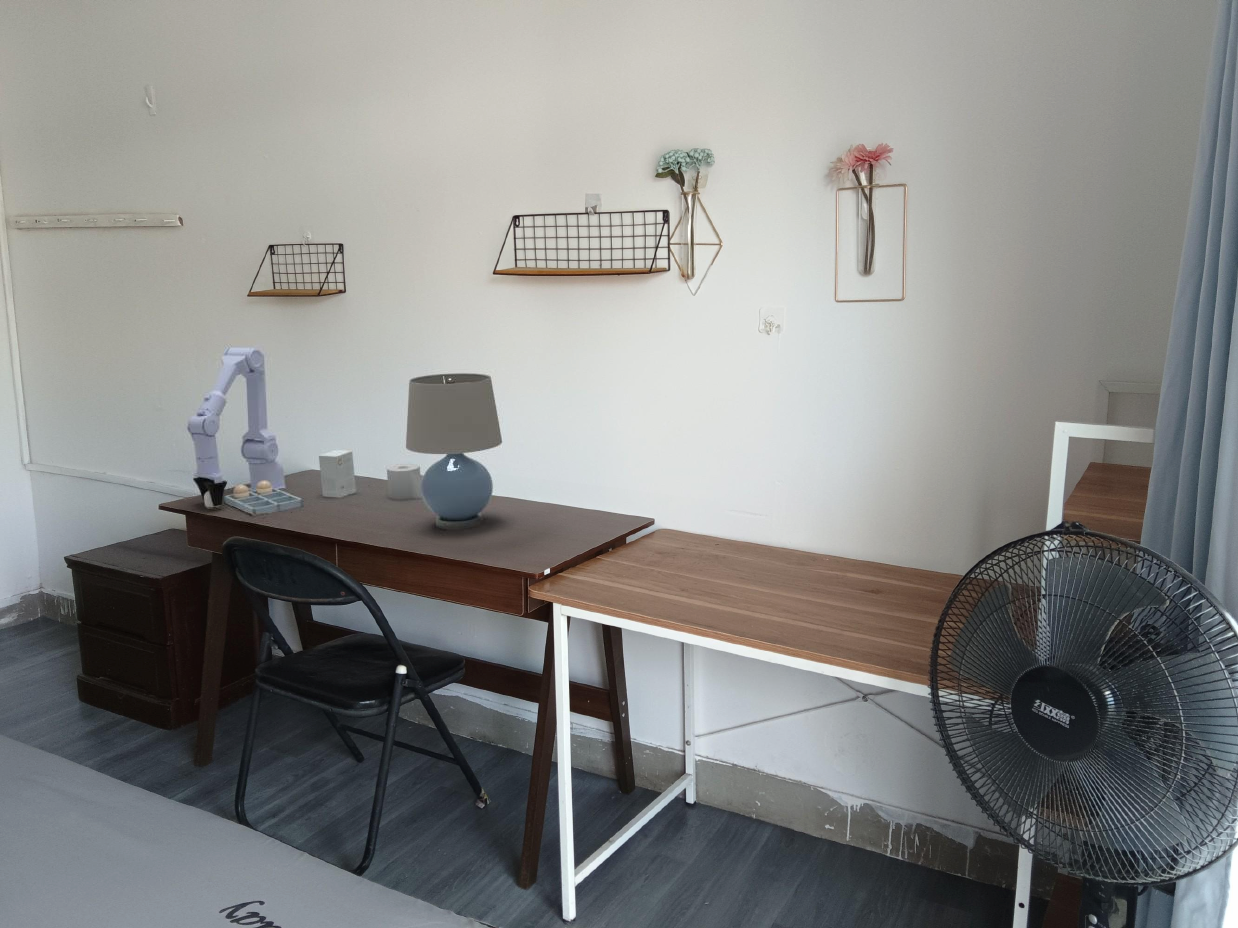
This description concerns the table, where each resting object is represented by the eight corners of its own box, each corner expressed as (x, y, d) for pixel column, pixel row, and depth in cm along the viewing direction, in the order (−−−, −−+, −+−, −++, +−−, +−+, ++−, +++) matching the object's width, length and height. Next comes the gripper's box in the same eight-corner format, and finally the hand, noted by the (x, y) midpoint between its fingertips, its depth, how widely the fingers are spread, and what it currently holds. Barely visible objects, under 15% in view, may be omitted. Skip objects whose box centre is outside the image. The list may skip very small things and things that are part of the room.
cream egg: (218, 505, 271) (216, 487, 270) (223, 508, 268) (221, 490, 267) (203, 508, 268) (201, 490, 267) (208, 510, 265) (206, 492, 264)
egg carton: (272, 494, 282) (271, 486, 281) (303, 507, 266) (302, 499, 266) (224, 504, 272) (223, 496, 271) (253, 518, 257) (252, 509, 256)
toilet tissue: (435, 497, 275) (433, 468, 273) (389, 500, 272) (386, 472, 270) (434, 489, 284) (432, 462, 282) (389, 493, 281) (386, 465, 279)
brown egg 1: (246, 499, 275) (244, 482, 273) (252, 502, 272) (250, 484, 270) (232, 502, 272) (230, 484, 271) (238, 505, 269) (235, 487, 268)
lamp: (405, 517, 255) (394, 375, 246) (494, 506, 263) (486, 369, 254) (419, 542, 232) (408, 387, 223) (516, 530, 240) (509, 380, 232)
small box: (339, 491, 284) (335, 449, 281) (356, 492, 282) (353, 450, 279) (322, 498, 277) (318, 455, 274) (340, 499, 275) (336, 456, 272)
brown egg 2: (269, 495, 279) (267, 478, 278) (275, 497, 276) (273, 480, 275) (255, 498, 276) (253, 480, 275) (261, 500, 273) (259, 483, 272)
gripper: (183, 455, 268) (189, 501, 271) (201, 463, 257) (207, 510, 260) (208, 451, 272) (214, 496, 275) (227, 458, 262) (233, 505, 265)
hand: (212, 503), depth 268 cm, fingers open, 7 cm apart
